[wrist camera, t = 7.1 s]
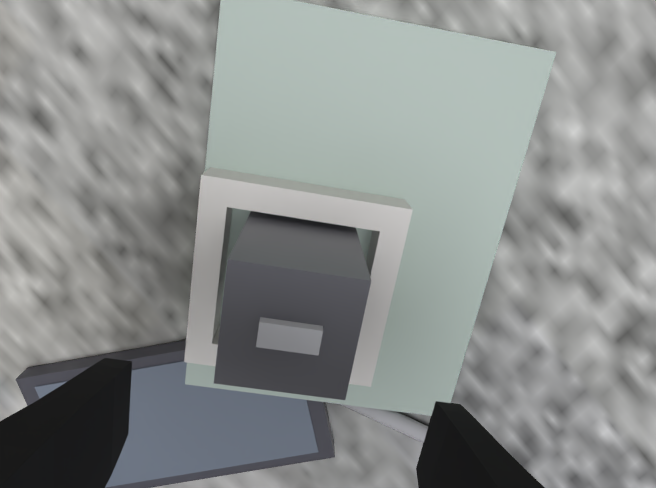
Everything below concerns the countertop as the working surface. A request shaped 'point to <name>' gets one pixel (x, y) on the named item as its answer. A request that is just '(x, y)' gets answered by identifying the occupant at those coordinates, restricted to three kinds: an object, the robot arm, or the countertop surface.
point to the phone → (195, 421)
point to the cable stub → (394, 421)
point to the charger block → (292, 307)
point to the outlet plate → (367, 176)
